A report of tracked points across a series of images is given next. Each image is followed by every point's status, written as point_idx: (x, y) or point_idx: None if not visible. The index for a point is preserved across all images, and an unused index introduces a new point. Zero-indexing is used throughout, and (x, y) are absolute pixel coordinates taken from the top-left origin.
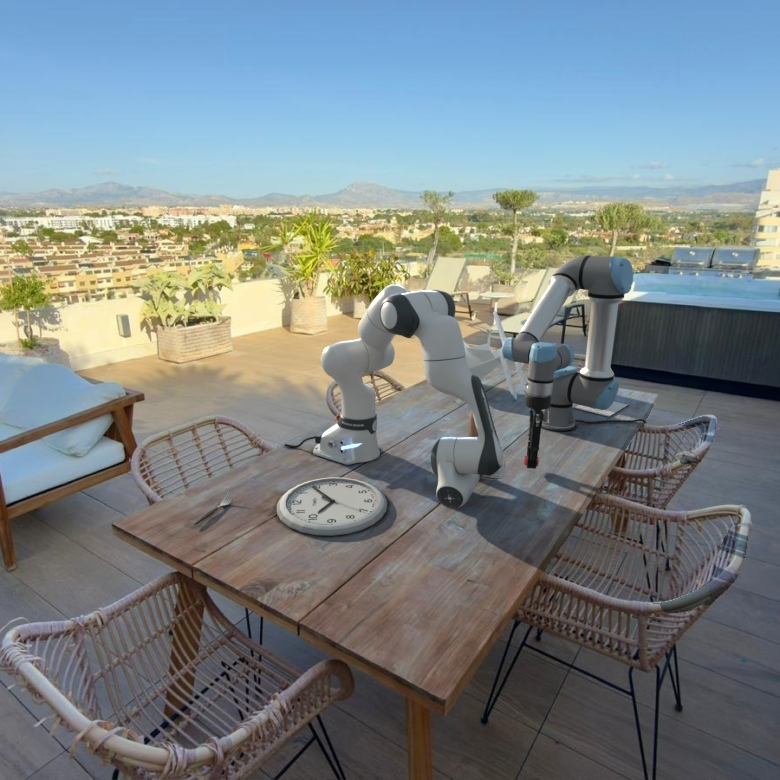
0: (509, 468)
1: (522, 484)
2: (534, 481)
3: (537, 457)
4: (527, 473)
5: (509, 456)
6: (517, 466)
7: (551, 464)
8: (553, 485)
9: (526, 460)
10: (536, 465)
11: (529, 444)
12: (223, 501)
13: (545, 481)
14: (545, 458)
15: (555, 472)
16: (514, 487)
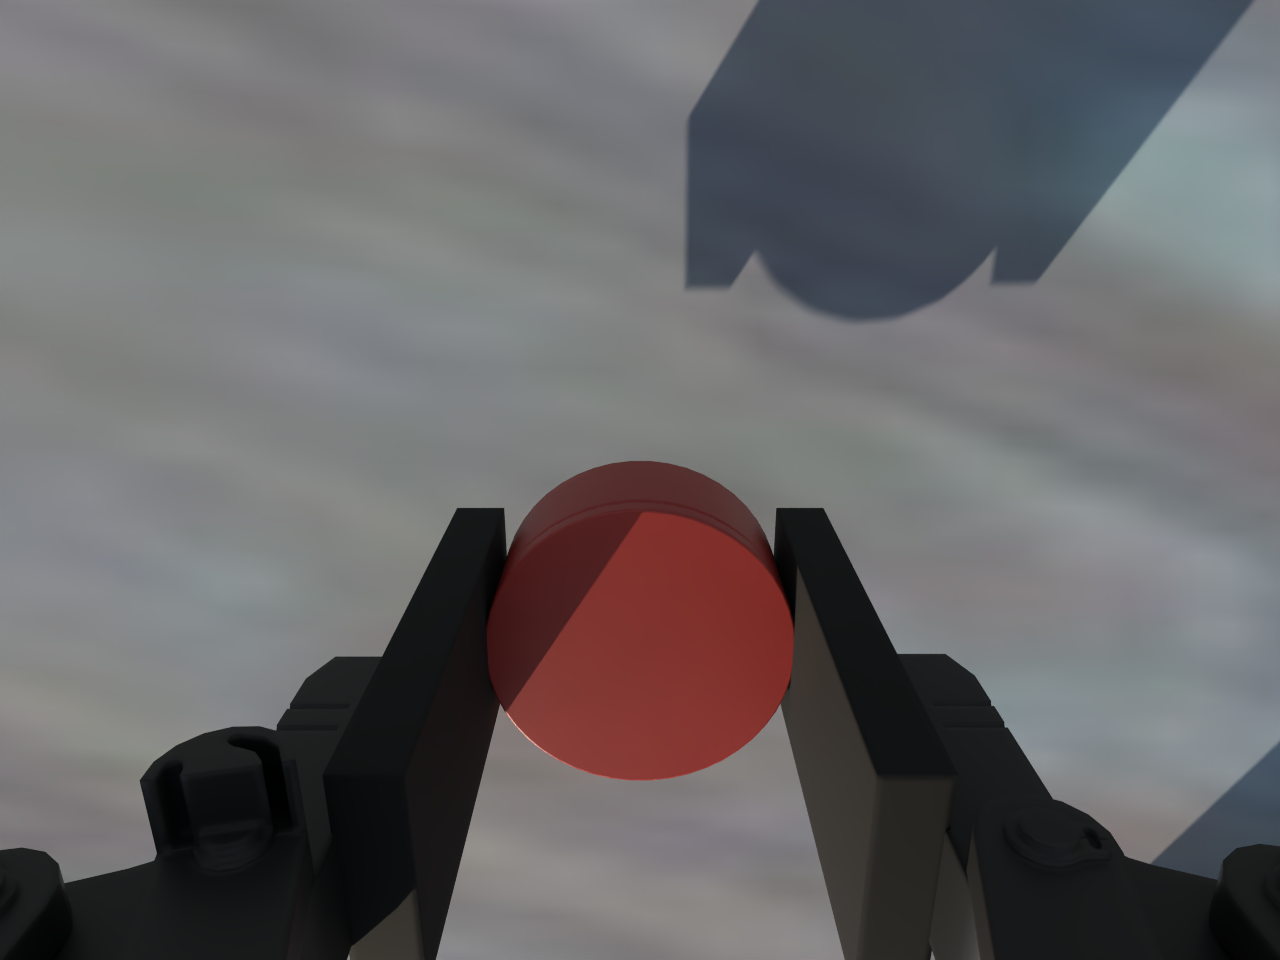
0: (655, 812)
1: (1171, 659)
2: (1057, 489)
3: (573, 536)
4: None
5: None
6: None
7: (262, 135)
8: (1193, 177)
9: (738, 732)
10: (743, 509)
11: (443, 906)
12: None
13: (1042, 311)
14: (12, 237)
15: (625, 84)
16: (1268, 758)
